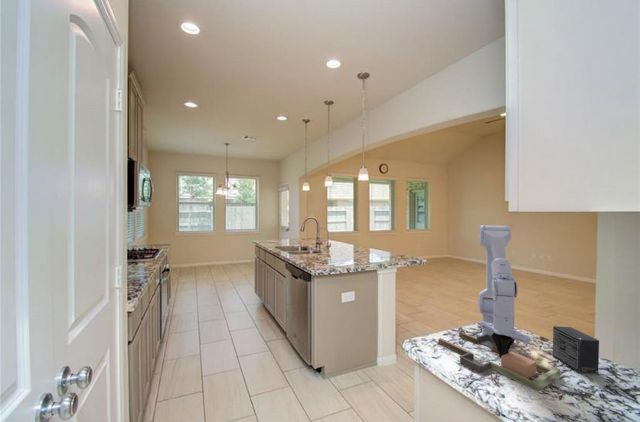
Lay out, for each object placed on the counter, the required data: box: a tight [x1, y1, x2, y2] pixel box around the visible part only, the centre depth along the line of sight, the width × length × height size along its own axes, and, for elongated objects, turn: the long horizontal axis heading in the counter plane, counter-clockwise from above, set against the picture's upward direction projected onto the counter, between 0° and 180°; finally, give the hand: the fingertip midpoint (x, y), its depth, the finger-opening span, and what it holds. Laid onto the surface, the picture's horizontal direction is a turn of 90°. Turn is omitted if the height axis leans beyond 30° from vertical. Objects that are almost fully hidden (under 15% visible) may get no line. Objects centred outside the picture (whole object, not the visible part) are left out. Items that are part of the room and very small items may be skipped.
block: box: [500, 351, 537, 379], centre depth 88 cm, size 6×7×4 cm
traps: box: [459, 334, 496, 374], centre depth 98 cm, size 25×13×2 cm, turn 119°
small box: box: [552, 325, 600, 375], centre depth 92 cm, size 11×6×10 cm, turn 179°
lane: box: [438, 331, 561, 392], centre depth 95 cm, size 13×32×2 cm, turn 29°
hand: (503, 357), depth 93 cm, fingers closed
